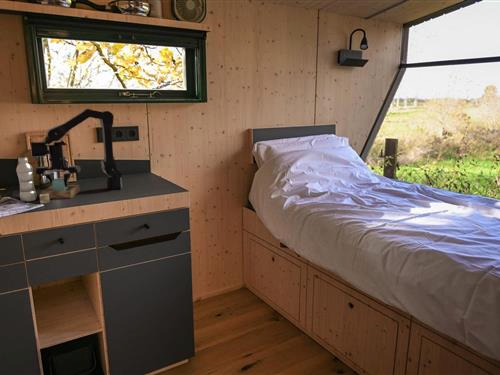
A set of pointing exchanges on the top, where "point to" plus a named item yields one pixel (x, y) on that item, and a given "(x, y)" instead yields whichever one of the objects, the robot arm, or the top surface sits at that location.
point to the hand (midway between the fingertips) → (60, 187)
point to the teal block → (59, 184)
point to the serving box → (62, 192)
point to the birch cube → (44, 198)
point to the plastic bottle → (26, 180)
